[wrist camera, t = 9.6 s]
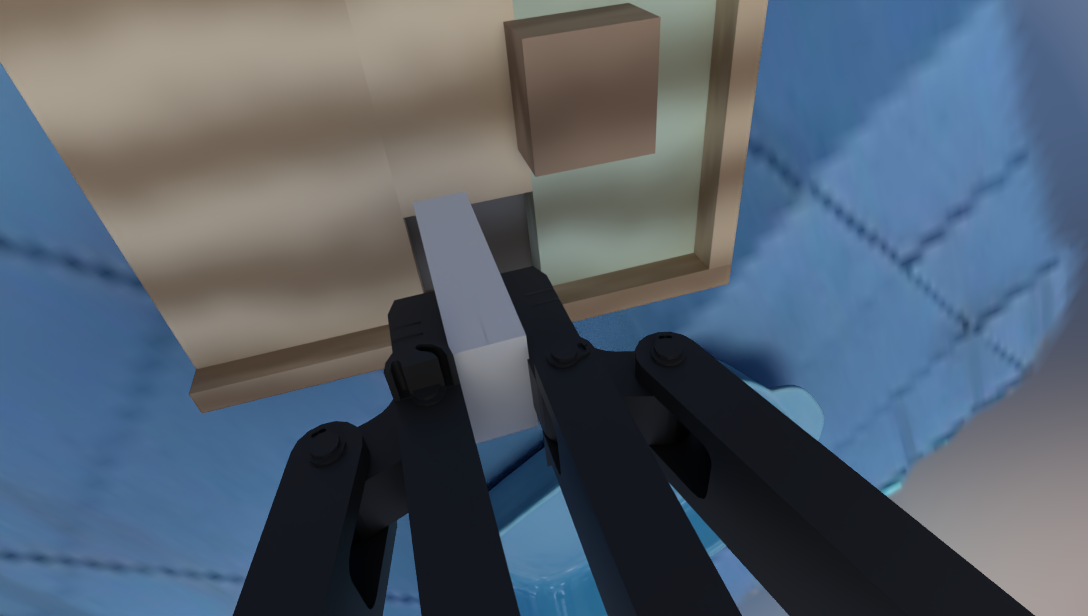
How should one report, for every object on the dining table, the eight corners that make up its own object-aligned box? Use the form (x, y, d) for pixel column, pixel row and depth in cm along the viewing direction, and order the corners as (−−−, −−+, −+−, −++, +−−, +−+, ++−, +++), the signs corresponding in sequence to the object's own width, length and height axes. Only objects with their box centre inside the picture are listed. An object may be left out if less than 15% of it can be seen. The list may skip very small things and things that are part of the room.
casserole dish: (715, 279, 43) (769, 338, 38) (812, 404, 57) (863, 461, 51) (377, 545, 51) (381, 626, 46) (533, 599, 65) (551, 667, 59)
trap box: (-149, -262, 19) (-278, -298, 15) (740, -318, 24) (817, -356, 20) (217, 354, 35) (201, 413, 31) (691, 244, 40) (728, 283, 36)
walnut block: (503, 21, 26) (522, 38, 23) (628, 2, 27) (660, 17, 24) (517, 149, 30) (535, 177, 27) (627, 128, 31) (655, 153, 28)
